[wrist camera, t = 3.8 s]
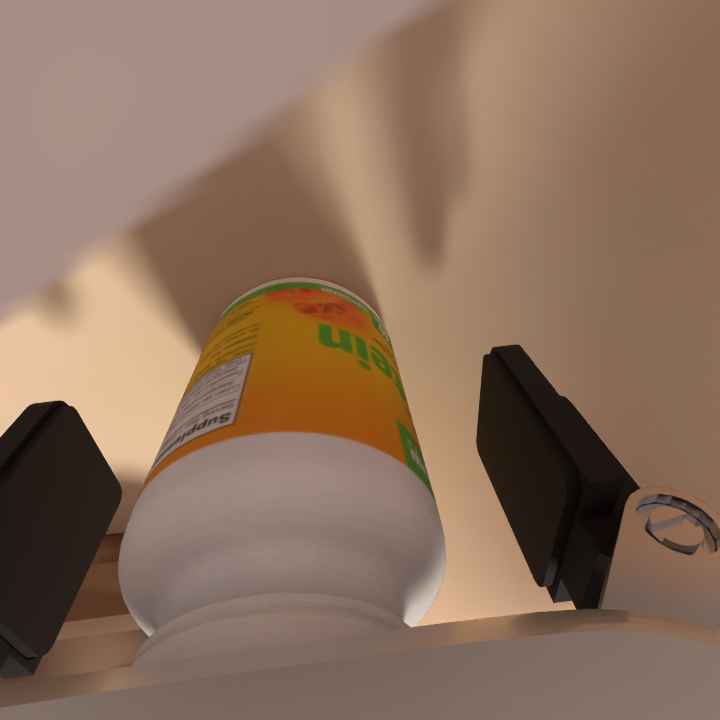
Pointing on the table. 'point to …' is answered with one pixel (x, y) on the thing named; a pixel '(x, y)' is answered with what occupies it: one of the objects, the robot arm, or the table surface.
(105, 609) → the groove tray
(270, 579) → the supplement bottle
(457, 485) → the table surface
